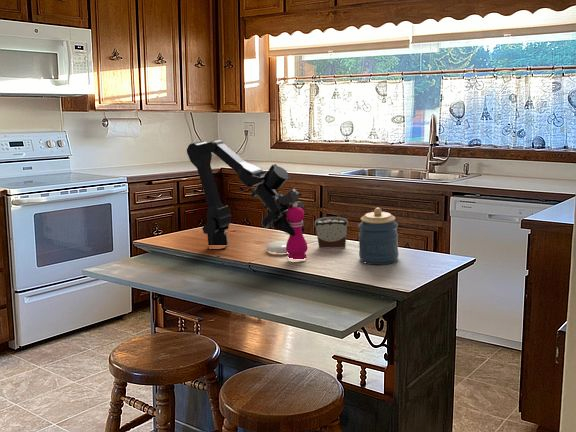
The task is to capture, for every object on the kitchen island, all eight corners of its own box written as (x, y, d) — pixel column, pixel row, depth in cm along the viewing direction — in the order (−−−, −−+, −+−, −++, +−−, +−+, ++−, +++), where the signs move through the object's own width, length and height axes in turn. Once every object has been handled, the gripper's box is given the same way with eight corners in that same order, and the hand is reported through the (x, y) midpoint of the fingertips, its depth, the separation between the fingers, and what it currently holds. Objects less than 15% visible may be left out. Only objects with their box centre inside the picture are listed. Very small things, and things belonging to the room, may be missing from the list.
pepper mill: (285, 257, 221) (283, 200, 216) (306, 256, 221) (304, 199, 217) (287, 264, 214) (284, 205, 209) (309, 262, 214) (306, 204, 210)
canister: (375, 251, 223) (374, 201, 218) (406, 258, 214) (406, 206, 209) (351, 260, 214) (349, 209, 210) (382, 268, 205) (381, 214, 201)
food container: (349, 242, 235) (348, 215, 232) (349, 247, 229) (348, 220, 226) (315, 243, 236) (314, 216, 233) (314, 248, 230) (313, 221, 227)
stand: (266, 255, 224) (266, 250, 224) (267, 246, 235) (267, 241, 234) (298, 254, 224) (298, 248, 224) (297, 245, 235) (297, 239, 234)
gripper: (266, 188, 206) (297, 225, 203) (298, 177, 221) (327, 211, 217) (249, 210, 213) (278, 246, 209) (281, 198, 227) (309, 231, 224)
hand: (299, 233), depth 215 cm, fingers closed on pepper mill, 5 cm apart
